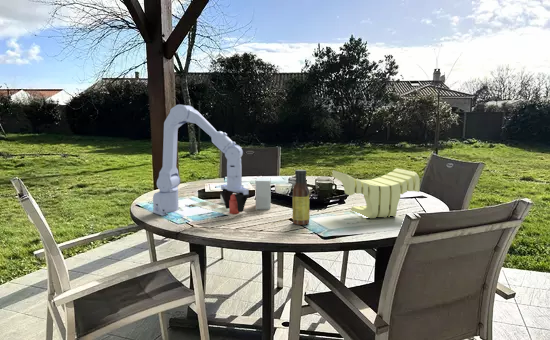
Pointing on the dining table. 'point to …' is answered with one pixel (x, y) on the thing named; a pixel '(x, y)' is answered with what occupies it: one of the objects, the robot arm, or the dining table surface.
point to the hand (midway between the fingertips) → (234, 209)
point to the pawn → (233, 205)
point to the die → (222, 198)
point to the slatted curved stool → (380, 191)
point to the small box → (263, 193)
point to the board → (215, 208)
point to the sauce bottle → (301, 199)
